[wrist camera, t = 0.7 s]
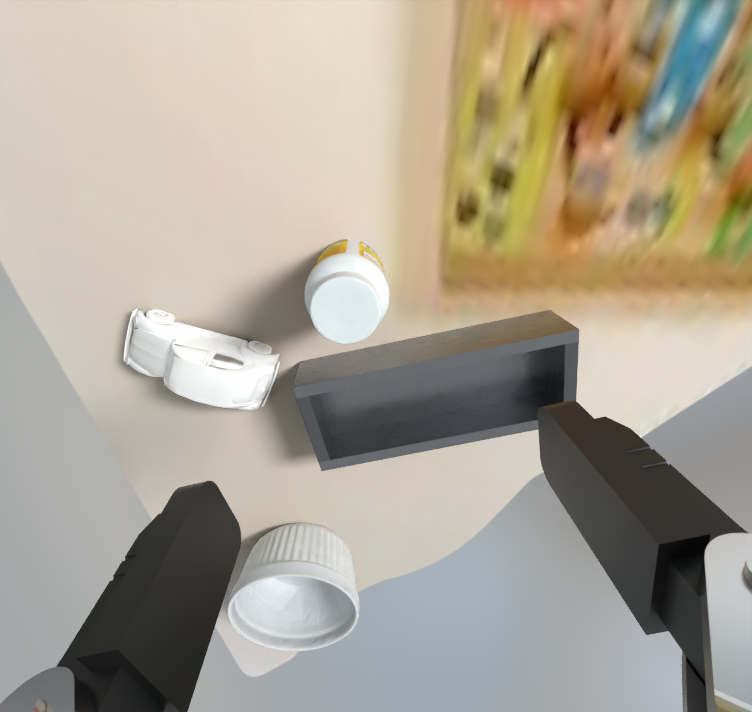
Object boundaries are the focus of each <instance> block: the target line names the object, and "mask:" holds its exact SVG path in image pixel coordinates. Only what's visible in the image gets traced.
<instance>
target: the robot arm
mask: <svg viewBox="0 0 752 712" xmlns="http://www.w3.org/2000/svg"><path fill="white" fill-rule="evenodd" d="M538 427H539V444H540V459H541V464H542V468H543V471H544V473H545V476H546V478H547V480H548V482H549V484H550V486H551V487H552V489H553V490H554V492H555V494H556V495H557V497H558V498H559V500H560V501H561V503H562V504H563V506H564V507H565V509H566V511H567V512H568V514H569V515H570V517H571V518H572V520H573V521H574V523H575V525H576V526H577V528H578V529H579V531H580V532H581V534H582V536H583V537H584V539H585V540H586V542H587V543H588V545H589V546H590V548H591V550H592V551H593V553H594V554H595V556H596V557H597V559H598V561H599V562H600V564H601V565H602V566H603V568H604V570H605V571H606V573H607V575H608V576H609V577H610V579H611V581H612V582H613V584H614V585H615V587H616V589H617V590H618V592H619V593H620V595H621V596H622V598H623V599H624V601H625V603H626V604H627V606H628V607H629V609H630V610H631V612H632V613H633V615H634V617H635V618H636V620H637V621H638V623H639V624H640V626H641V627H642V629H643V631H644V632H645V634H646V635H649V634H654V633H660V632H665V631H669V632H670V633H671V635H672V636H673V638H674V639H675V641H676V642H677V643H678V645H679V646H680V648H681V649H682V651H683V652H682V691H683V692H682V694H683V712H752V534H749V533H747V532H746V531H745V530H744V529H743V528H741V527H740V526H739V525H738V524H737V523H735V522H734V521H733V520H732V519H731V518H730V517H729V516H728V515H726V514H725V513H724V512H723V511H722V510H721V509H720V508H719V507H718V506H716V505H715V504H714V503H713V502H712V501H711V500H710V499H709V498H707V497H706V496H705V495H704V494H703V493H702V492H701V491H700V490H698V489H697V488H696V487H695V486H694V485H693V484H692V483H691V482H689V481H688V480H687V479H686V478H685V477H684V476H683V475H682V474H681V473H679V472H678V471H677V470H676V469H675V468H674V467H673V466H671V464H670V465H668V464H667V463H666V460H665V459H664V458H663V457H662V456H660V455H659V454H658V453H657V452H656V451H655V450H654V449H653V450H651V449H650V447H649V445H648V444H647V443H646V442H645V441H643V439H641V438H640V437H639V436H638V435H637V434H636V433H635V432H634V431H632V430H631V429H630V428H628V427H626V426H624V425H622V424H620V423H617V422H615V421H613V420H611V419H609V418H607V417H601V418H597V419H594V418H593V417H592V416H591V415H590V414H589V413H588V412H587V411H586V410H585V409H584V408H583V407H582V406H581V405H580V404H579V403H577V402H576V401H573V400H571V401H567V402H562V403H558V404H553V405H549V406H544V407H540V408H539V410H538ZM240 545H241V531H240V526H239V523H238V521H237V519H236V518H235V516H234V514H233V513H232V511H231V509H230V507H229V506H228V504H227V502H226V500H225V499H224V497H223V495H222V493H221V492H220V490H219V488H218V487H217V485H216V484H215V483H214V482H212V481H206V482H201V483H197V484H193V485H188V486H184V487H180V488H178V489H177V490H176V491H175V492H174V493H173V495H172V496H171V498H170V500H169V501H168V503H167V505H166V506H165V508H164V510H163V511H162V513H161V514H158V515H157V516H156V517H155V519H154V520H153V521H152V522H151V523H150V524H149V525H148V526H147V527H146V528H145V529H144V530H143V531H142V532H141V533H140V534H139V535H138V537H137V539H136V540H135V542H134V543H133V545H132V547H131V548H130V550H129V551H128V553H127V555H126V556H125V558H126V559H125V561H122V563H121V564H120V566H119V568H118V569H117V571H116V572H115V574H114V579H113V581H110V582H109V584H108V585H107V587H106V588H105V590H104V592H103V593H102V595H101V596H100V598H99V600H98V601H97V603H96V605H95V606H94V608H93V610H92V611H91V613H90V614H89V616H88V618H87V619H86V621H85V622H84V624H83V625H82V627H81V629H80V630H79V632H78V633H77V635H76V637H75V638H74V640H73V642H72V643H71V645H70V646H69V648H68V649H67V651H66V653H65V654H64V656H63V657H62V659H61V661H60V662H59V664H58V665H57V667H54V668H50V669H48V670H45V671H43V672H41V673H39V674H37V675H35V676H34V677H32V678H31V679H29V680H28V681H26V682H25V683H23V684H22V685H21V686H20V687H18V688H17V689H16V690H15V691H14V692H13V693H11V694H10V695H9V696H8V697H7V698H6V699H5V700H4V701H3V702H2V703H1V704H0V712H187V711H188V708H189V705H190V702H191V698H192V695H193V692H194V689H195V686H196V683H197V680H198V677H199V673H200V670H201V667H202V664H203V661H204V658H205V655H206V652H207V649H208V645H209V643H210V639H211V636H212V633H213V630H214V627H215V624H216V621H217V618H218V615H219V612H220V609H221V605H222V602H223V599H224V596H225V593H226V590H227V587H228V584H229V581H230V577H231V574H232V571H233V568H234V565H235V562H236V559H237V556H238V553H239V549H240Z"/></svg>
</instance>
